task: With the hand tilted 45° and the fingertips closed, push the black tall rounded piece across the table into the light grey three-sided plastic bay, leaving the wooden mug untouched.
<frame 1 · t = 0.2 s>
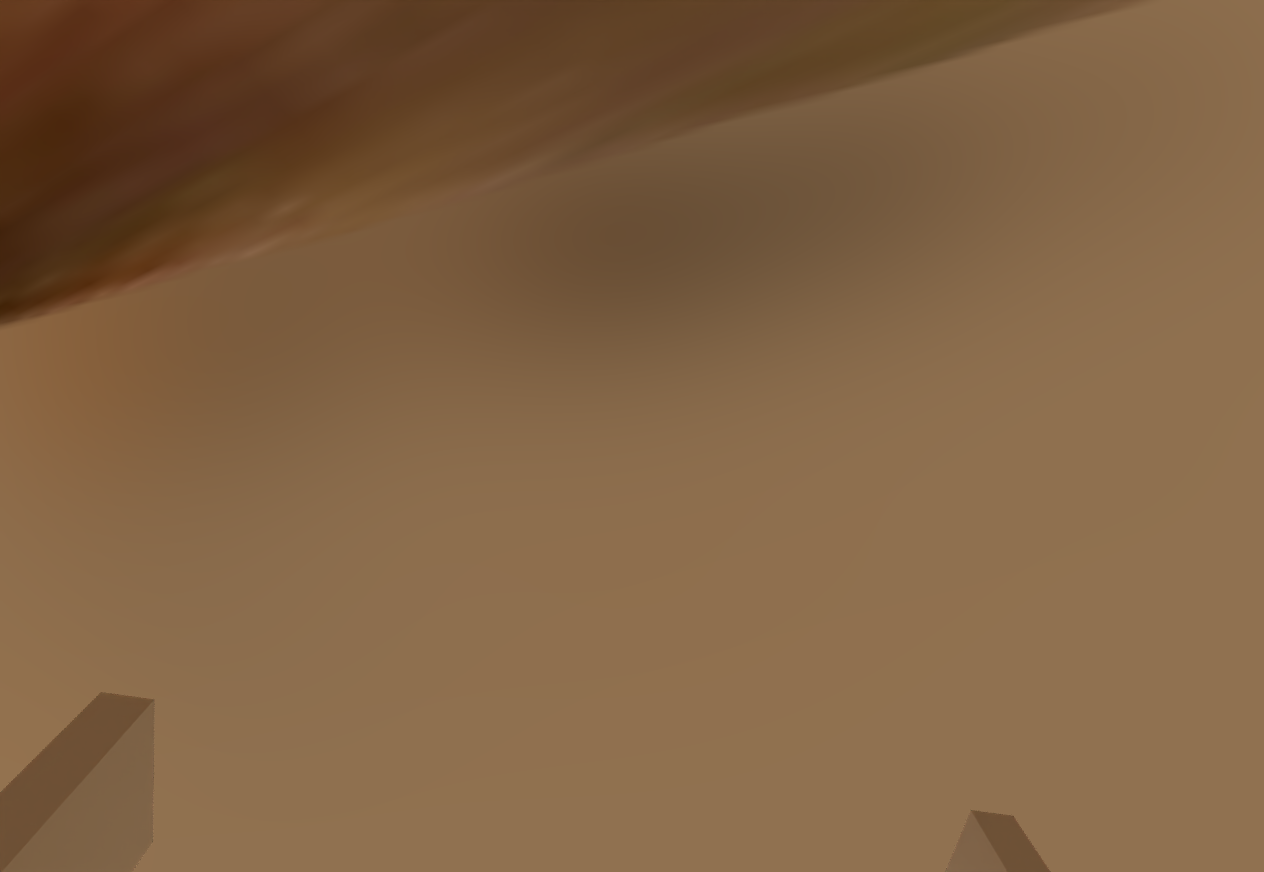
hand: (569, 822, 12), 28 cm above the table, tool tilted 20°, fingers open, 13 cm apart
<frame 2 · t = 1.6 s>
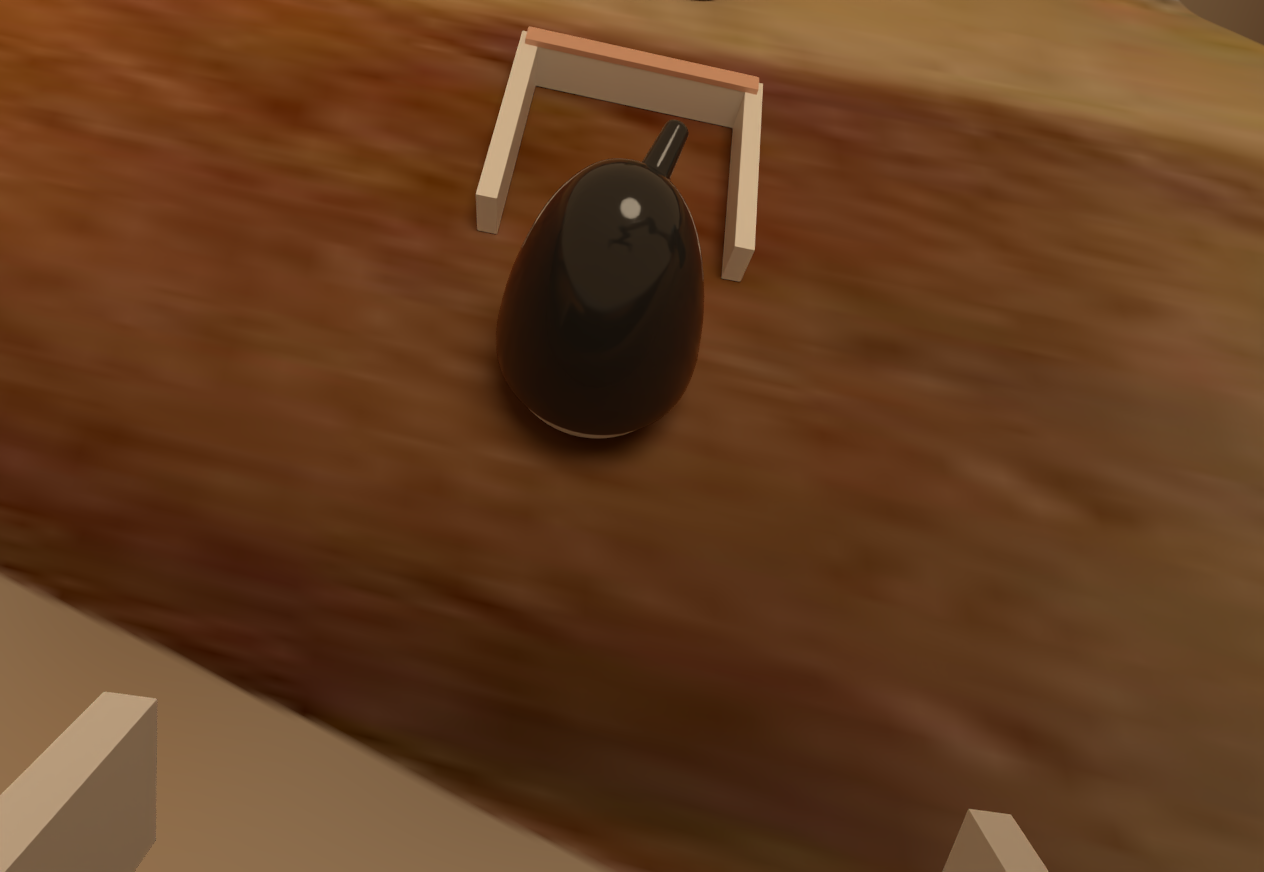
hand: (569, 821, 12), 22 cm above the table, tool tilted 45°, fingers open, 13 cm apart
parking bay: (624, 174, 49), on the table
black tall rounded piece: (589, 382, 42), on the table
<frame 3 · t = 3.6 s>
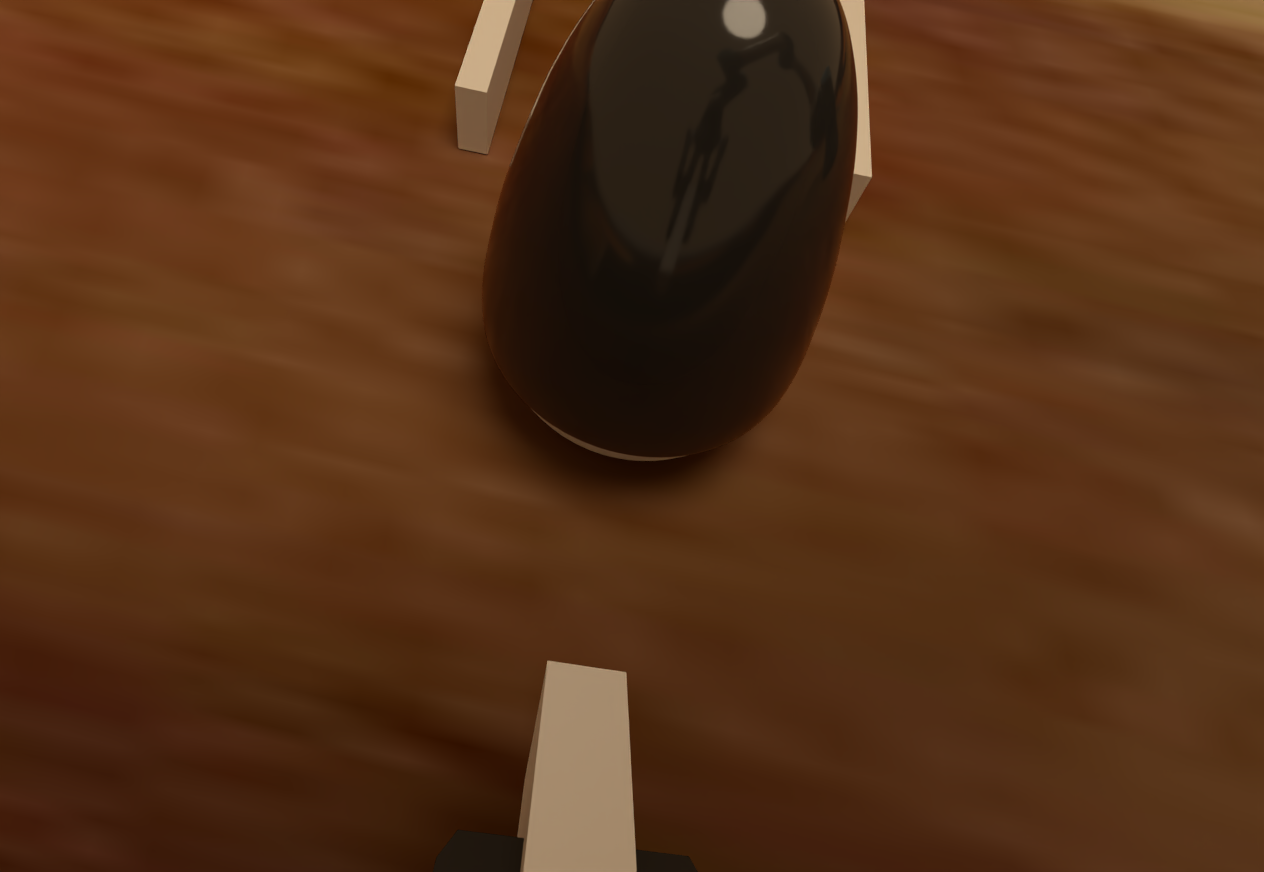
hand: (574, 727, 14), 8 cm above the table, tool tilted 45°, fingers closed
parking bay: (669, 79, 35), on the table
black tall rounded piece: (627, 373, 27), on the table
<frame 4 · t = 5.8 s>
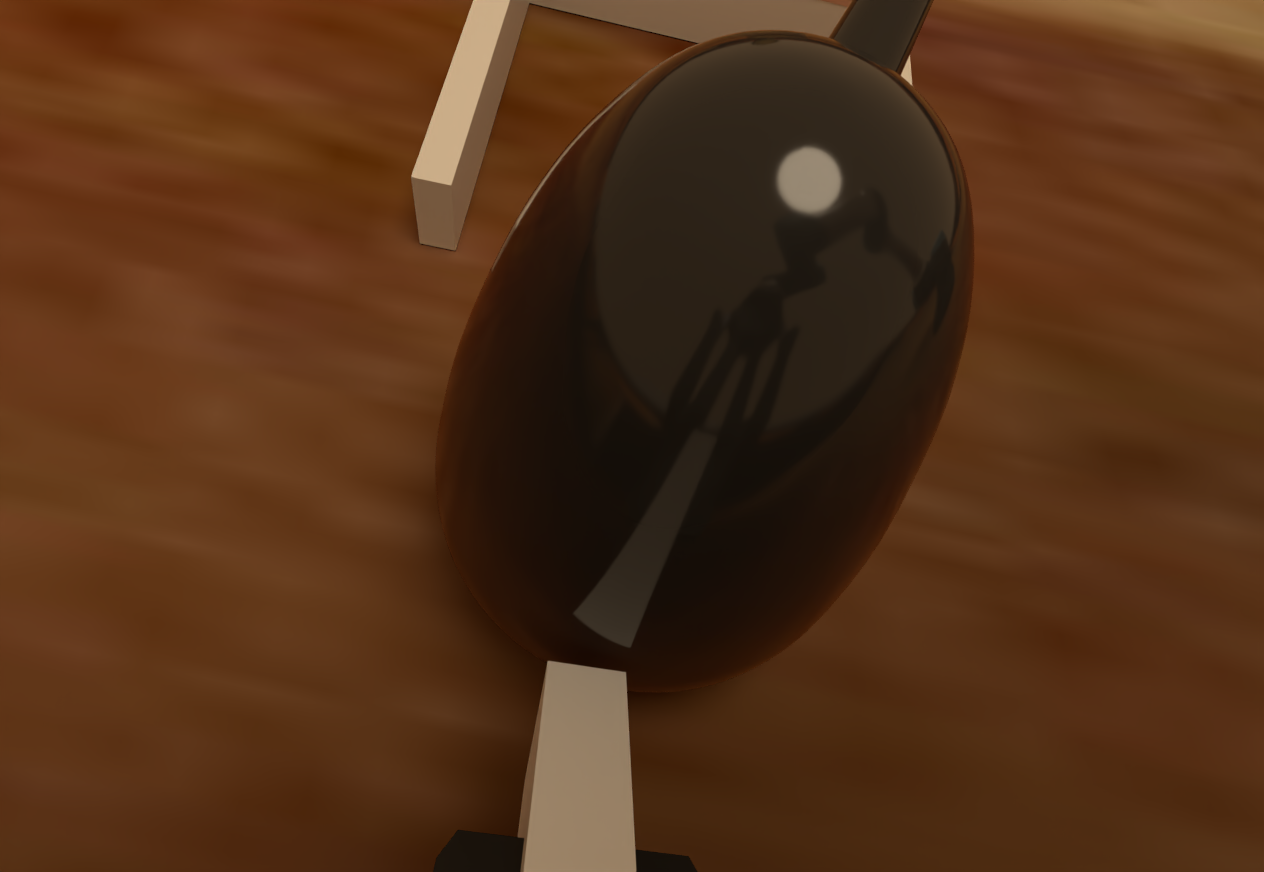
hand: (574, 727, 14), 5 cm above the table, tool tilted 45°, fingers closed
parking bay: (677, 148, 29), on the table
black tall rounded piece: (626, 526, 22), on the table, touching gripper
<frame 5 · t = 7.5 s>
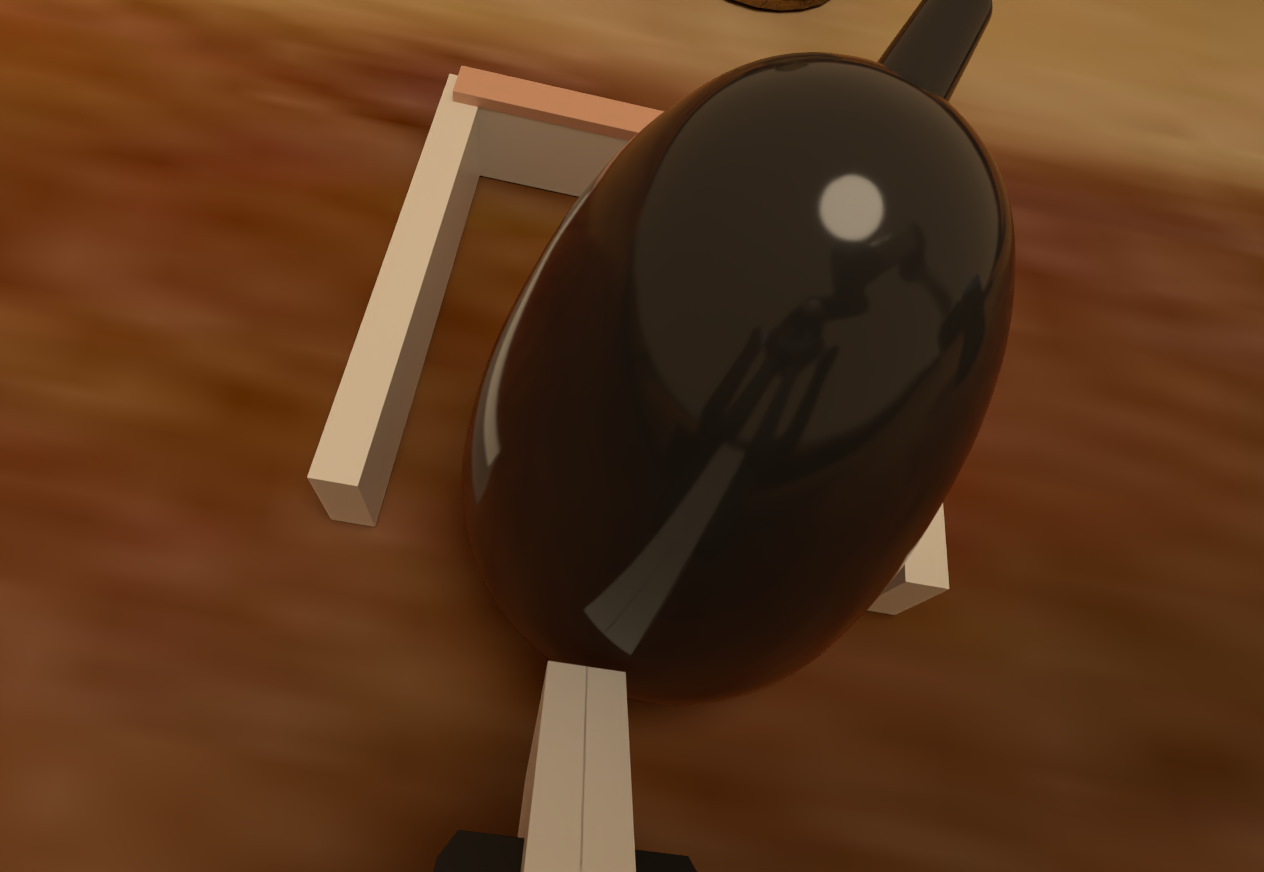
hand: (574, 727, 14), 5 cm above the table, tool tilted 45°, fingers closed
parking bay: (649, 363, 25), on the table
black tall rounded piece: (646, 535, 22), on the table, touching gripper
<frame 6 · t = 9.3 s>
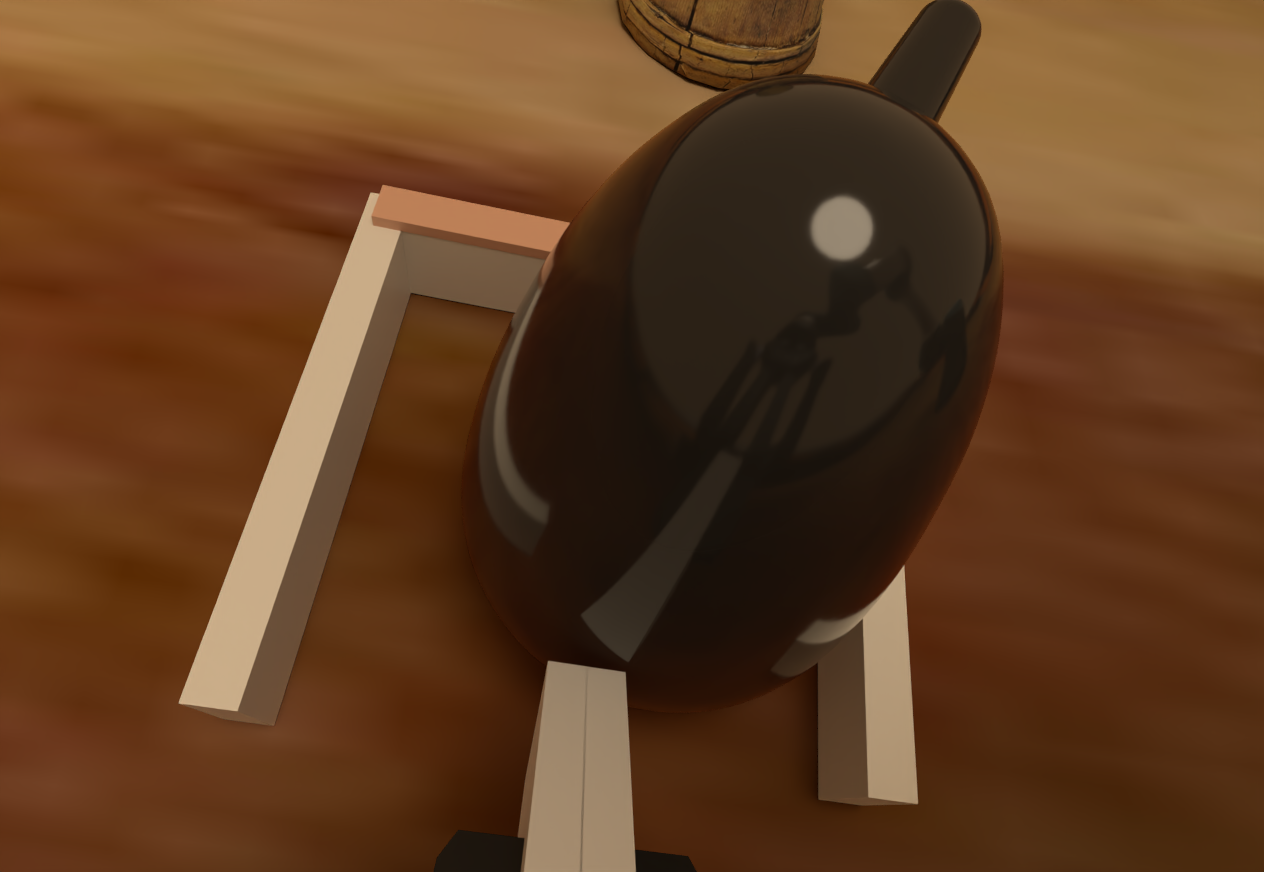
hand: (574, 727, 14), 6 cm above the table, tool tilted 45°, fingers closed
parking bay: (592, 510, 22), on the table
black tall rounded piece: (644, 545, 22), on the table, touching gripper
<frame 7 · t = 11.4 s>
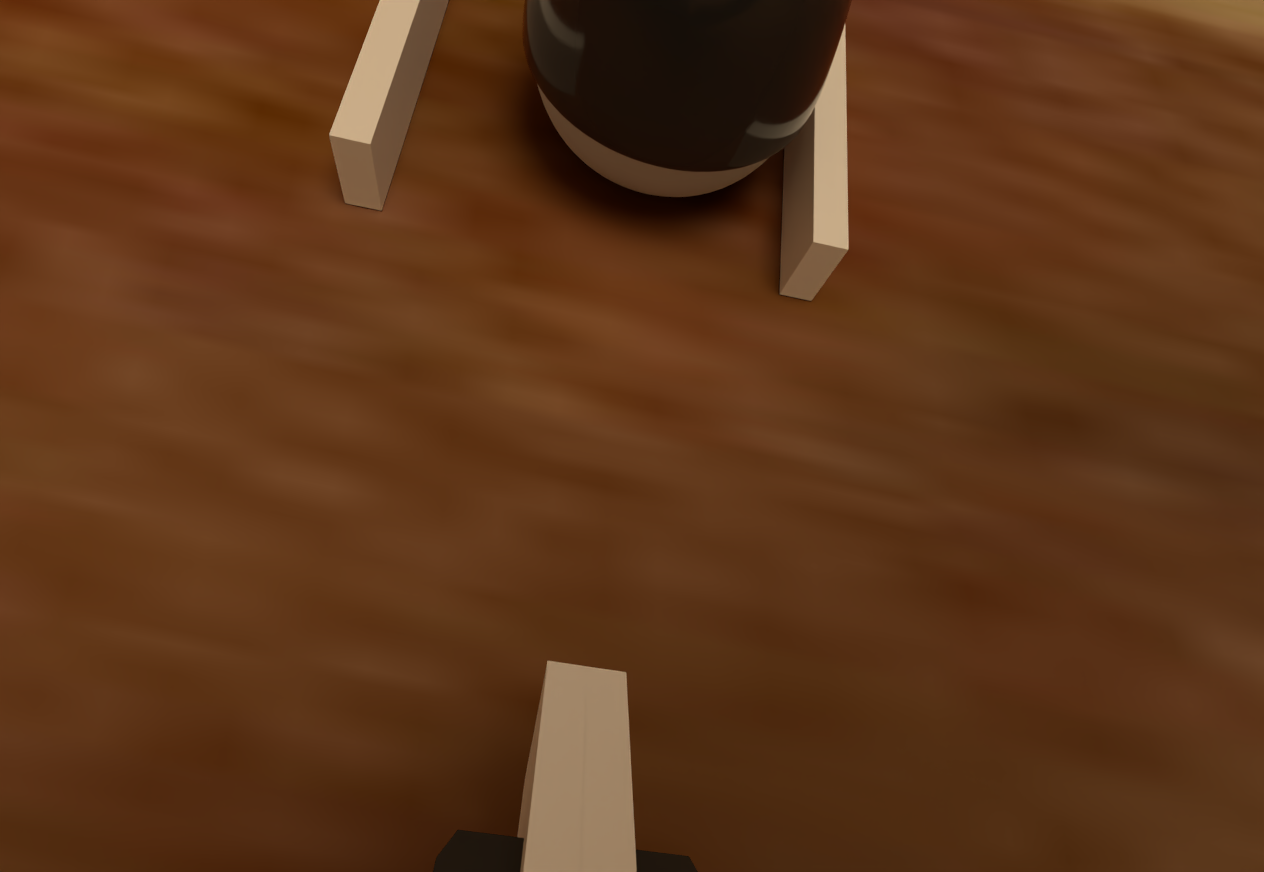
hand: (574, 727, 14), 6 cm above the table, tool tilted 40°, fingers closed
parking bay: (611, 108, 29), on the table
black tall rounded piece: (651, 136, 29), on the table
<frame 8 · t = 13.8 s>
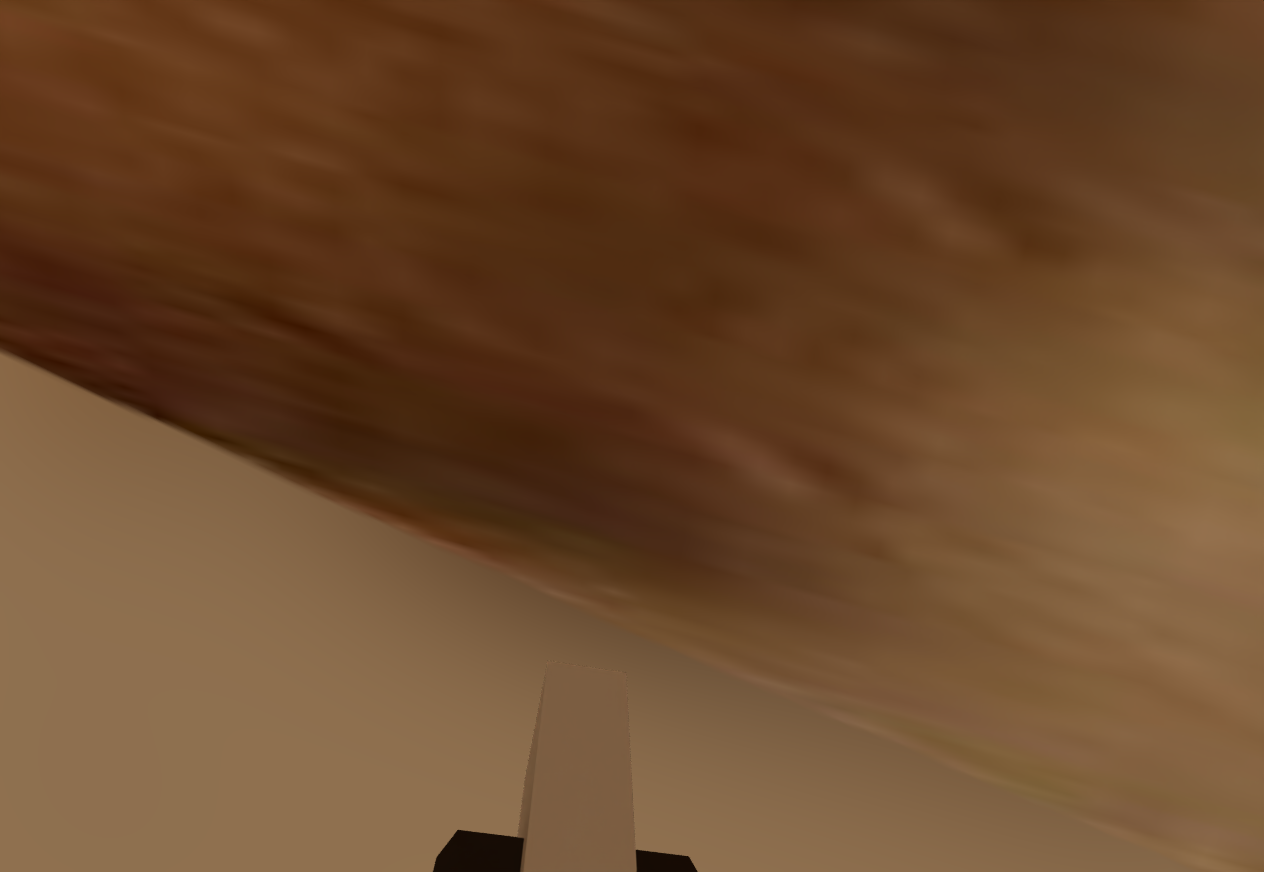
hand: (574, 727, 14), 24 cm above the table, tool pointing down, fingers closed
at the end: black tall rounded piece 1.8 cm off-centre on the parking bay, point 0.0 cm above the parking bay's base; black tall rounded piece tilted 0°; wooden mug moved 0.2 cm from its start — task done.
